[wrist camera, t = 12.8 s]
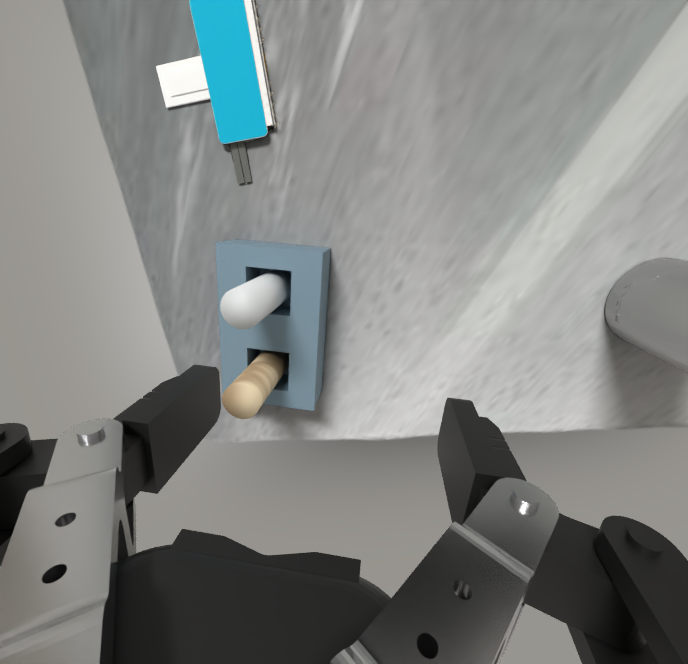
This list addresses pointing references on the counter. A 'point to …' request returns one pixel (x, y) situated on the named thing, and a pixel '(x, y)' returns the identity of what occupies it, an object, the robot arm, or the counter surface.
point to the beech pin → (255, 384)
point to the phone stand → (225, 75)
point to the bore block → (274, 313)
